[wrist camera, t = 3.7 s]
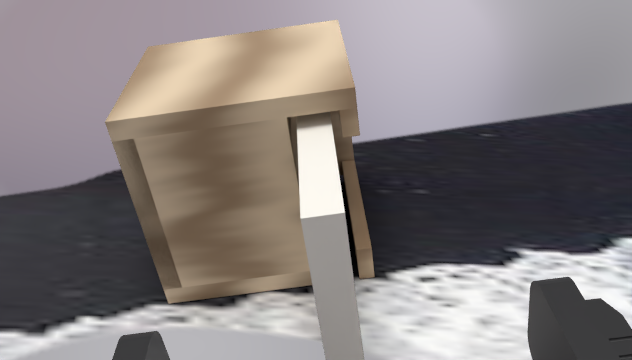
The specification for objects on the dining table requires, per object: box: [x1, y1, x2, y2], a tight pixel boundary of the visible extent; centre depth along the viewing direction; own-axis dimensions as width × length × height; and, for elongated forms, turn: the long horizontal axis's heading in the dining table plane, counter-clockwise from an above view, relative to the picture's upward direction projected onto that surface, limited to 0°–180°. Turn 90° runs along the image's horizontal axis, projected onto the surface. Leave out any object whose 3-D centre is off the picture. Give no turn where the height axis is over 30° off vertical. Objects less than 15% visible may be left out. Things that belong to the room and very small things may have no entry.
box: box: [105, 20, 375, 304], centre depth 34 cm, size 11×10×11 cm
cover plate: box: [296, 112, 364, 360], centre depth 29 cm, size 2×11×9 cm, turn 2°
